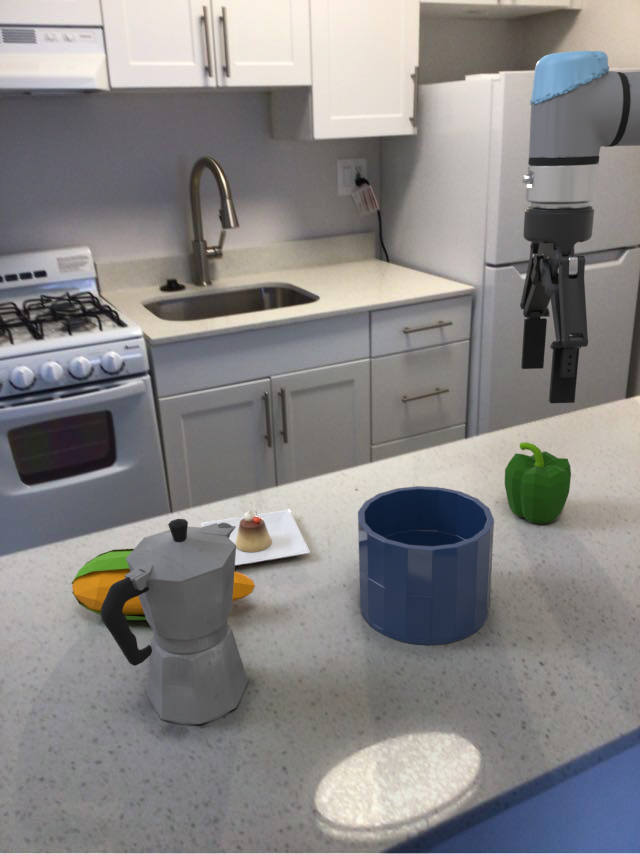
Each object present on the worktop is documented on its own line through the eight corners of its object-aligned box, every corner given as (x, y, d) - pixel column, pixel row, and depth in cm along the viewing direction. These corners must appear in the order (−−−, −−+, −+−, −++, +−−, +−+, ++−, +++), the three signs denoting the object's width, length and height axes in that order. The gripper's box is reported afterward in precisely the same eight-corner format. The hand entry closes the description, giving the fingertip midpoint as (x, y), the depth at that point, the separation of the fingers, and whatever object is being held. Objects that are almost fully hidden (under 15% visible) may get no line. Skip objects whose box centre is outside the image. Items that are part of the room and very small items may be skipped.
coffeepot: (209, 637, 78) (192, 480, 72) (281, 669, 73) (269, 503, 67) (90, 729, 67) (56, 551, 60) (165, 775, 61) (137, 586, 55)
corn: (79, 533, 84) (257, 532, 83) (91, 589, 87) (263, 589, 86) (54, 573, 77) (247, 573, 76) (68, 632, 81) (254, 633, 79)
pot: (476, 569, 88) (479, 484, 85) (500, 644, 75) (506, 548, 71) (358, 572, 89) (356, 487, 85) (362, 647, 76) (360, 551, 72)
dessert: (310, 560, 92) (309, 525, 90) (212, 577, 89) (208, 541, 87) (289, 516, 103) (287, 484, 101) (201, 530, 100) (197, 497, 98)
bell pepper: (582, 517, 99) (589, 446, 96) (541, 536, 95) (546, 464, 91) (531, 495, 106) (536, 428, 102) (490, 512, 101) (494, 443, 98)
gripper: (502, 197, 97) (494, 357, 105) (556, 216, 74) (541, 420, 81) (561, 195, 97) (549, 355, 104) (634, 214, 74) (611, 418, 81)
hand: (545, 384), depth 93 cm, fingers open, 13 cm apart
